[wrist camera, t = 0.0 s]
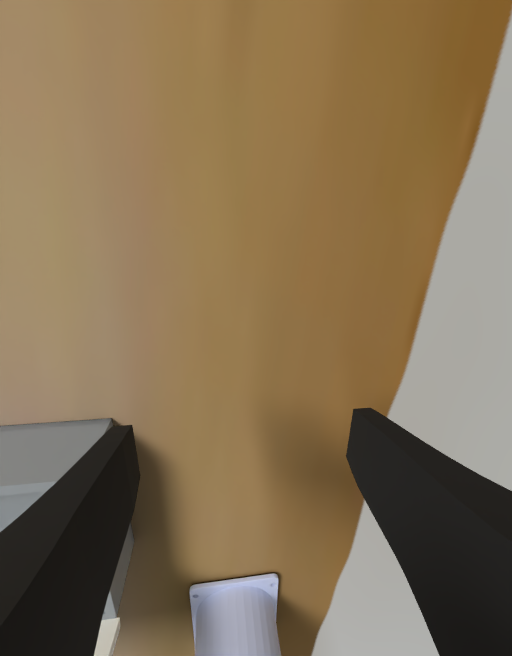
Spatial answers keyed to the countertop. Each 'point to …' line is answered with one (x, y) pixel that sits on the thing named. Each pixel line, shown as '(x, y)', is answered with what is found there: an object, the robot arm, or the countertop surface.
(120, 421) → the countertop surface
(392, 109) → the countertop surface
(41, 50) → the countertop surface
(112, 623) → the lid
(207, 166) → the countertop surface
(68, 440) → the box
